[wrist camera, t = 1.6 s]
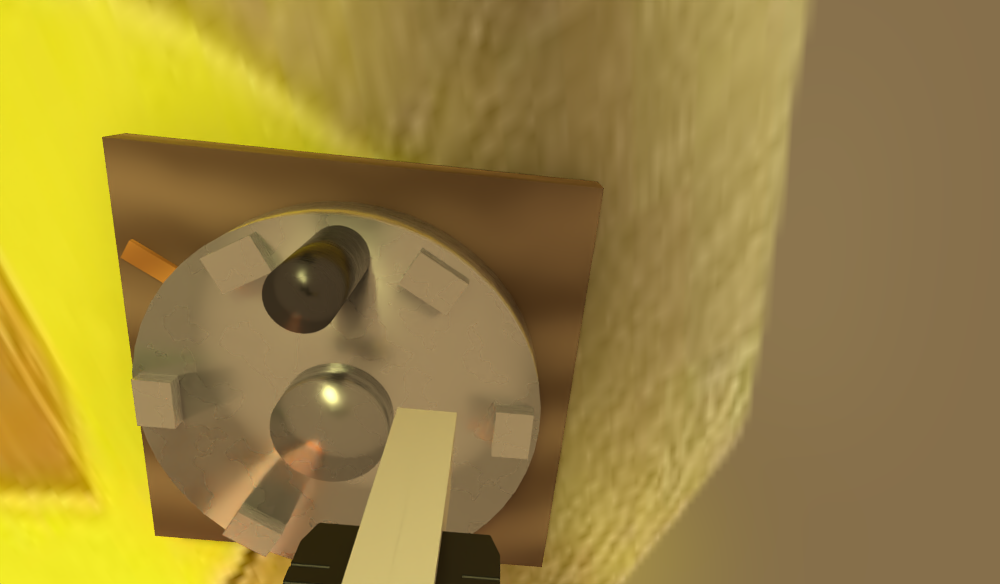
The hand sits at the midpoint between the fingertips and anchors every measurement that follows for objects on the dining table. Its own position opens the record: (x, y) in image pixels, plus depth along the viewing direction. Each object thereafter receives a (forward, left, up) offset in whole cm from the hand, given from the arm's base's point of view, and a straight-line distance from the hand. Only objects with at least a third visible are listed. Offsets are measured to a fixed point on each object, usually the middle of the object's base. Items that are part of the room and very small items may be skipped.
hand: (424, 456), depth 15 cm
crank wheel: (+9, -6, -18) cm, 21 cm away
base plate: (+9, -6, -20) cm, 23 cm away
